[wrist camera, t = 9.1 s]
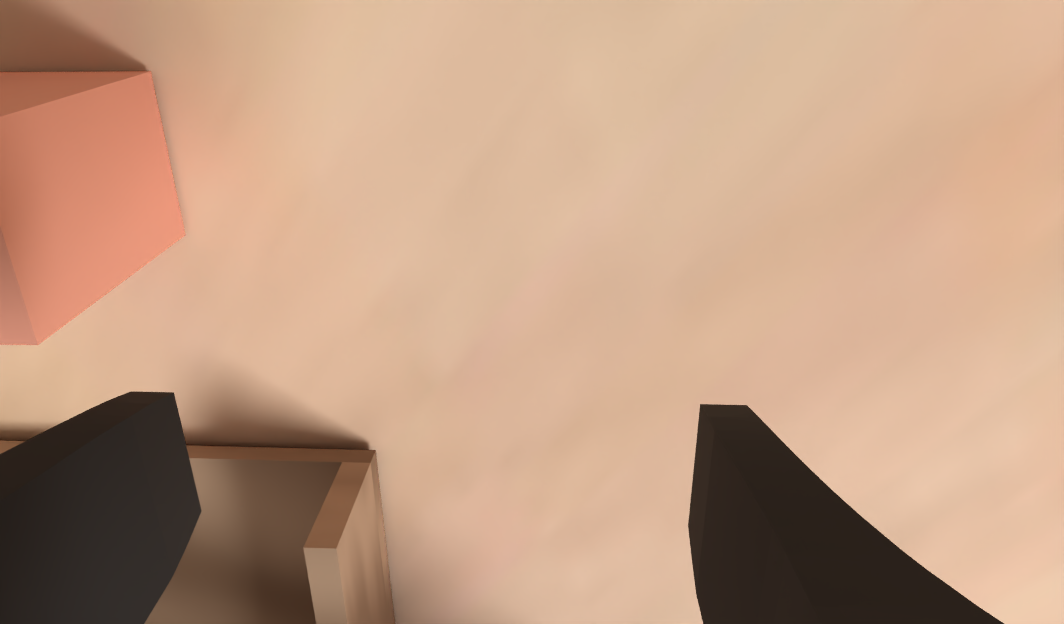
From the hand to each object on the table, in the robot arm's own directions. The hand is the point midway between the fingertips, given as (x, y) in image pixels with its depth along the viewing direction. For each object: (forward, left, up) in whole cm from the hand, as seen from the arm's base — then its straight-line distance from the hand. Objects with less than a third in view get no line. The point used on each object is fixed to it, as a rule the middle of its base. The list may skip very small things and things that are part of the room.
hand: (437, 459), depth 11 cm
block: (+2, +10, -10) cm, 14 cm away
